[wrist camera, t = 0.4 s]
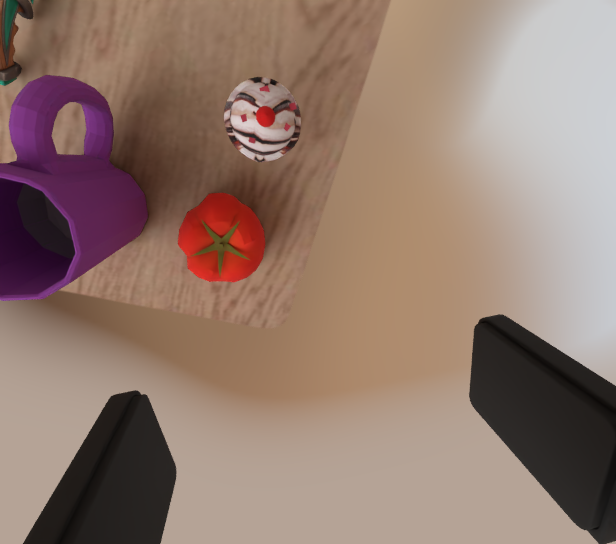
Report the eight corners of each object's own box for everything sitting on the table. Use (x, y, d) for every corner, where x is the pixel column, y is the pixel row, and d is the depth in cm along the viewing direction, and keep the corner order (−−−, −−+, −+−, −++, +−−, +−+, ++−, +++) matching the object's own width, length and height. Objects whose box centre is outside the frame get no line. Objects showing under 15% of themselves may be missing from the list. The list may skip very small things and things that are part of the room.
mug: (54, 235, 34) (-82, 289, 20) (59, 79, 30) (-112, 11, 16) (145, 253, 36) (78, 313, 22) (162, 110, 32) (92, 74, 18)
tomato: (262, 268, 39) (264, 292, 32) (188, 266, 38) (173, 291, 31) (265, 191, 36) (268, 200, 29) (184, 186, 35) (167, 193, 28)
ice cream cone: (245, 166, 35) (239, 173, 21) (225, 111, 33) (203, 79, 19) (293, 150, 35) (319, 146, 21) (276, 94, 33) (293, 49, 19)
